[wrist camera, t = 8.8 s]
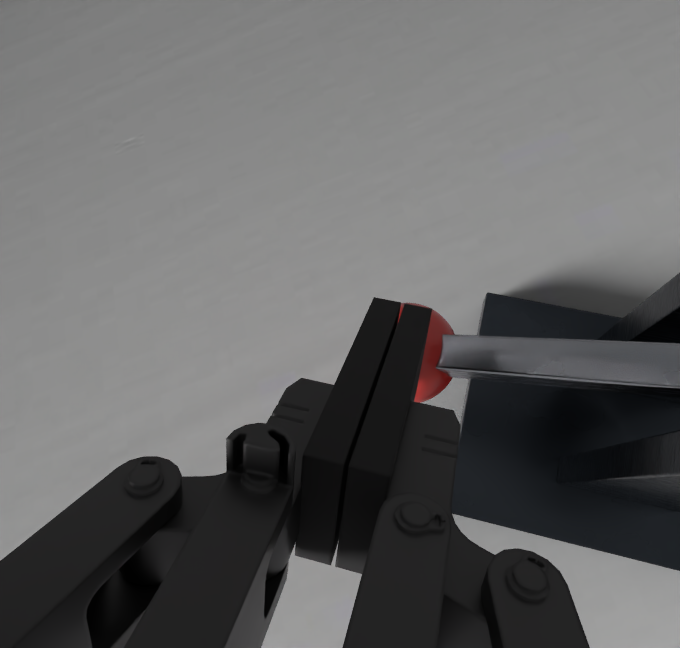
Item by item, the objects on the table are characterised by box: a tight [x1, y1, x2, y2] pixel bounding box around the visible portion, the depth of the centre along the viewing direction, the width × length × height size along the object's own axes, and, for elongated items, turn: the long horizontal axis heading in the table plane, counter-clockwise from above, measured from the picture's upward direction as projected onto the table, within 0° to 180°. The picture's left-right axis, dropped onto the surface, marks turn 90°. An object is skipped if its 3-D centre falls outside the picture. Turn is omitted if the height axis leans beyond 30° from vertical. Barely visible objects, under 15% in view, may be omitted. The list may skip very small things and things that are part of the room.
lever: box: [398, 303, 680, 403], centre depth 16 cm, size 13×3×3 cm
